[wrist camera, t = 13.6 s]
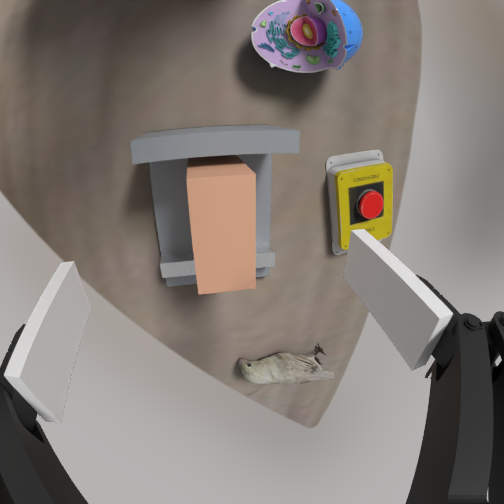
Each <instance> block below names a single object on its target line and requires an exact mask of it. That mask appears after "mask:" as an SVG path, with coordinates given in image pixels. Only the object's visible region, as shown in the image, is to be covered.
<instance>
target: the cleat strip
mask: <svg viewBox="0 0 504 504" xmlns="http://www.w3.org/2000/svg"><path fill="white" fill-rule="evenodd" d="M271 266H275V251H274V249H273V248H272V246H271V244H270V243H269V244H259V245H256V268H262V267H271ZM160 268H161V273H162V278H167V277H177V276H187V275H196V270H195V262H194V254H193V251H188V252H178V253H169V254H161V259H160Z"/></svg>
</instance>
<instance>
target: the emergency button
mask: <svg viewBox="0 0 504 504" xmlns="http://www.w3.org/2000/svg"><path fill="white" fill-rule="evenodd" d="M326 173H327V183H328V194H329V206H330V220H331V235H332V251H333V253H334V254H335V255H340V254H343V253H347V252H348V248H349V242H350V235H351V230H360V229H365V230H366V231H367V232H368V233H369V234H370V235H372V236H373V237H374V238H375V239H376V240H377V241H378V242H380V241H381V240H382V239H383V238H387V237H388V236H390V234H391V232H392V211H393V169H392V166H390V165H389V164H388V163H385V162H384V161H383V155H382V152H381V151H380V150H370V151H363V152H356V153H350V154H344V155H338V156H332V157H329V158H328V159H327V161H326Z"/></svg>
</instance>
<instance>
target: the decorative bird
mask: <svg viewBox="0 0 504 504" xmlns="http://www.w3.org/2000/svg"><path fill="white" fill-rule="evenodd" d="M316 348H317V349H318V350H317V351H316V353H314V355H313V356H305V355H298V354H293V353H288V352H279V353H276V354H274V355H271V356H269V357H266V358H263V359H261V360H260V361H250V360H247V359H242V358H239V360H238V363H239V369H240V372H241V374H242V376H243V377H244V378H245V379H246V380H247V381H248V382H250V383H252V384H270V383H278V384H287V385H288V384H303V383H307V382H311V381H324V380H331V379H333V378H334V376H333V374H334V373H333V372H327V371H323V370H322V368H321V367H320V366H319V364H321V363H320V362H319V359H318V358H317V357H316V354H317V353H319V352H322V353H323V354H324V352H323V350H322V349H321V348H320V347H319V344H318V347H317V346H316ZM324 355H326V354H324ZM317 362H318V363H319V364H318V363H317ZM321 365H323V364H321Z"/></svg>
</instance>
